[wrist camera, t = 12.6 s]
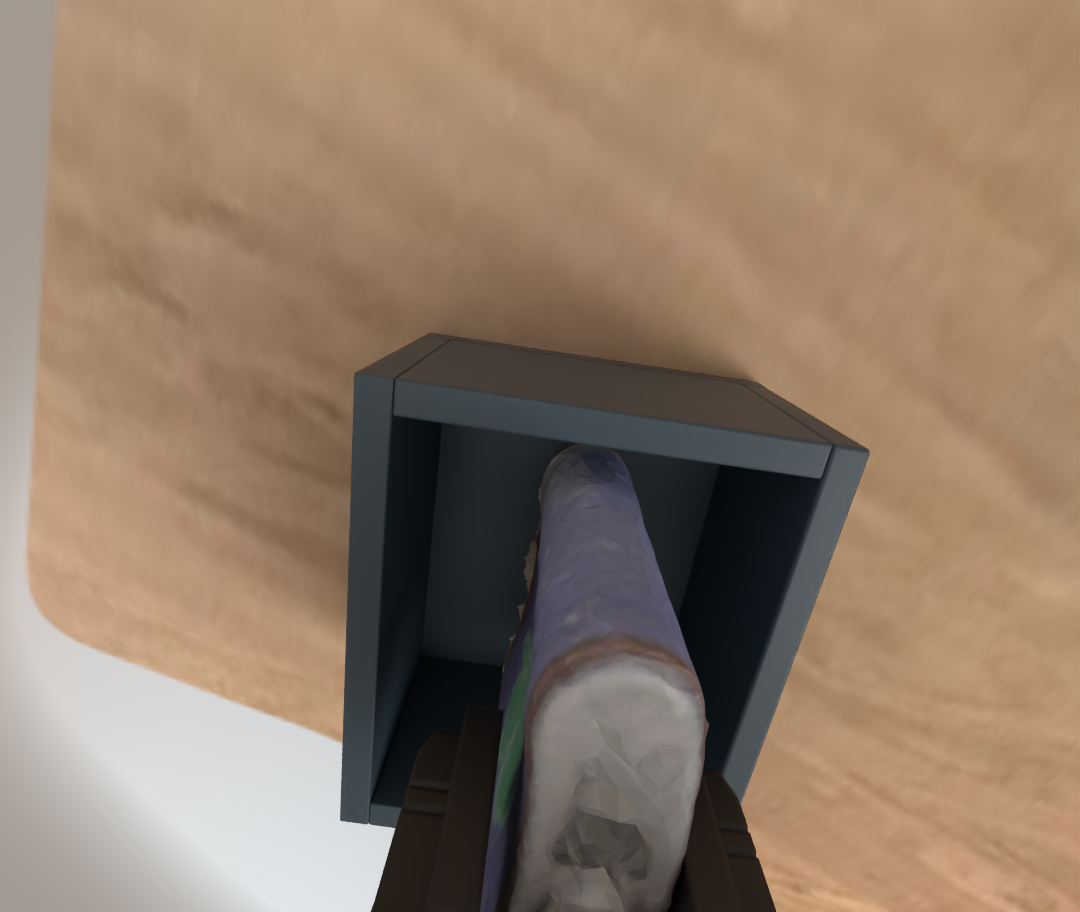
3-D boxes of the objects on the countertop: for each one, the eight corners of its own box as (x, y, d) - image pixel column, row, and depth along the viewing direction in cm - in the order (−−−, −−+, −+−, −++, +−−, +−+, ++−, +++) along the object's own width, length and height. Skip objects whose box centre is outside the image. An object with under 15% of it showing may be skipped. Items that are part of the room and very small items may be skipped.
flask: (550, 427, 15) (545, 783, 5) (656, 449, 15) (872, 840, 5) (492, 694, 18) (412, 1256, 8) (580, 709, 18) (614, 1282, 8)
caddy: (758, 382, 18) (873, 450, 11) (670, 693, 22) (717, 872, 15) (429, 332, 17) (354, 372, 11) (404, 655, 22) (339, 821, 15)
